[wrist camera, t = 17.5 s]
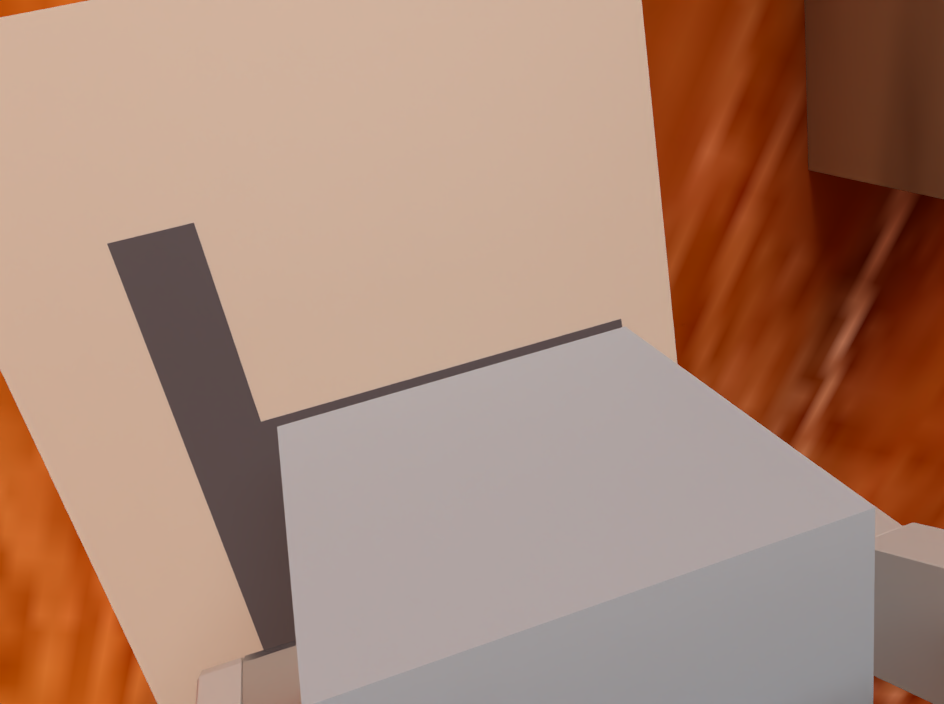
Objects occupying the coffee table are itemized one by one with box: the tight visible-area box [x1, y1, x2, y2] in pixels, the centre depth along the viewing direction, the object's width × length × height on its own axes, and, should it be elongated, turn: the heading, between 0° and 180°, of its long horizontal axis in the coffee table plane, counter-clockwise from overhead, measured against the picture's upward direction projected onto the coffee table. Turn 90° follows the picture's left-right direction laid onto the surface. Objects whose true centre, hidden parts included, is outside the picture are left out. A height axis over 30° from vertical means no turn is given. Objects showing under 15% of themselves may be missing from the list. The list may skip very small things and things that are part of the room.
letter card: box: [0, 0, 677, 704], centre depth 16 cm, size 12×16×1 cm
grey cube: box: [277, 327, 875, 704], centre depth 10 cm, size 5×5×5 cm
